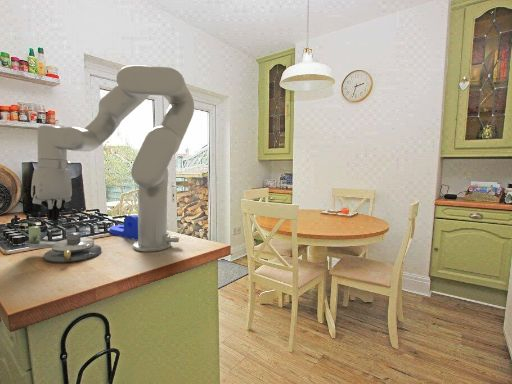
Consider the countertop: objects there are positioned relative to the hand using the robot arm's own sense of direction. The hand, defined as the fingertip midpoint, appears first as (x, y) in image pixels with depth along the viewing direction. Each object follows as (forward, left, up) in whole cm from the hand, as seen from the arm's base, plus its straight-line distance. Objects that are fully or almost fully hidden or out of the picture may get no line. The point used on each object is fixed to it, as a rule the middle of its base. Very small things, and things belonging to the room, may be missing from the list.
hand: (52, 219), depth 90 cm
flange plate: (-6, +7, -7) cm, 11 cm away
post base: (-9, +7, -9) cm, 15 cm away
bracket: (-19, -18, -10) cm, 27 cm away
